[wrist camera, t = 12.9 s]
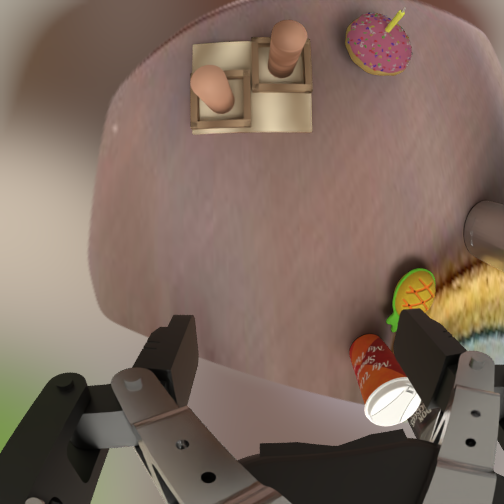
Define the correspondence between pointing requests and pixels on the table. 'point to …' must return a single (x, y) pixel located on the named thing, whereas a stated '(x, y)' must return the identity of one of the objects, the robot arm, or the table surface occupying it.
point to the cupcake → (378, 44)
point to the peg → (213, 88)
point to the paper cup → (382, 382)
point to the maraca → (412, 294)
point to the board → (259, 83)
